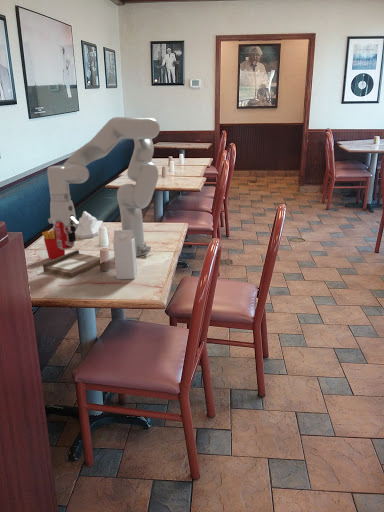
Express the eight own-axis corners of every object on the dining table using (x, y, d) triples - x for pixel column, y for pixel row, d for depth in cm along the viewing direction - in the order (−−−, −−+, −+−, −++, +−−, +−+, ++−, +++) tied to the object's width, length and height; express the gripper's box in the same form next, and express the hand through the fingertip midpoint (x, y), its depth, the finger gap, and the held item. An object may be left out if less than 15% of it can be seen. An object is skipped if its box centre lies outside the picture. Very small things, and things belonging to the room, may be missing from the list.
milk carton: (119, 273, 182) (115, 228, 176) (137, 272, 182) (133, 227, 176) (116, 279, 175) (112, 233, 169) (134, 279, 175) (130, 232, 169)
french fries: (67, 255, 206) (63, 227, 202) (66, 258, 202) (62, 230, 198) (46, 257, 204) (42, 229, 200) (45, 260, 200) (41, 232, 196)
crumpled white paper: (104, 239, 234) (99, 215, 225) (75, 244, 232) (69, 220, 224) (104, 227, 244) (99, 204, 236) (76, 231, 242) (70, 208, 234)
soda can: (77, 245, 188) (74, 217, 184) (71, 250, 181) (68, 221, 177) (61, 245, 189) (57, 217, 185) (54, 250, 182) (51, 221, 178)
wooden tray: (105, 262, 195) (104, 254, 194) (72, 277, 179) (71, 269, 178) (77, 257, 203) (76, 249, 202) (43, 271, 186) (42, 263, 185)
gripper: (83, 197, 177) (87, 240, 183) (51, 194, 185) (56, 235, 191) (69, 201, 171) (74, 245, 177) (37, 197, 179) (43, 240, 185)
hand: (65, 240), depth 184 cm, fingers closed on soda can, 7 cm apart
